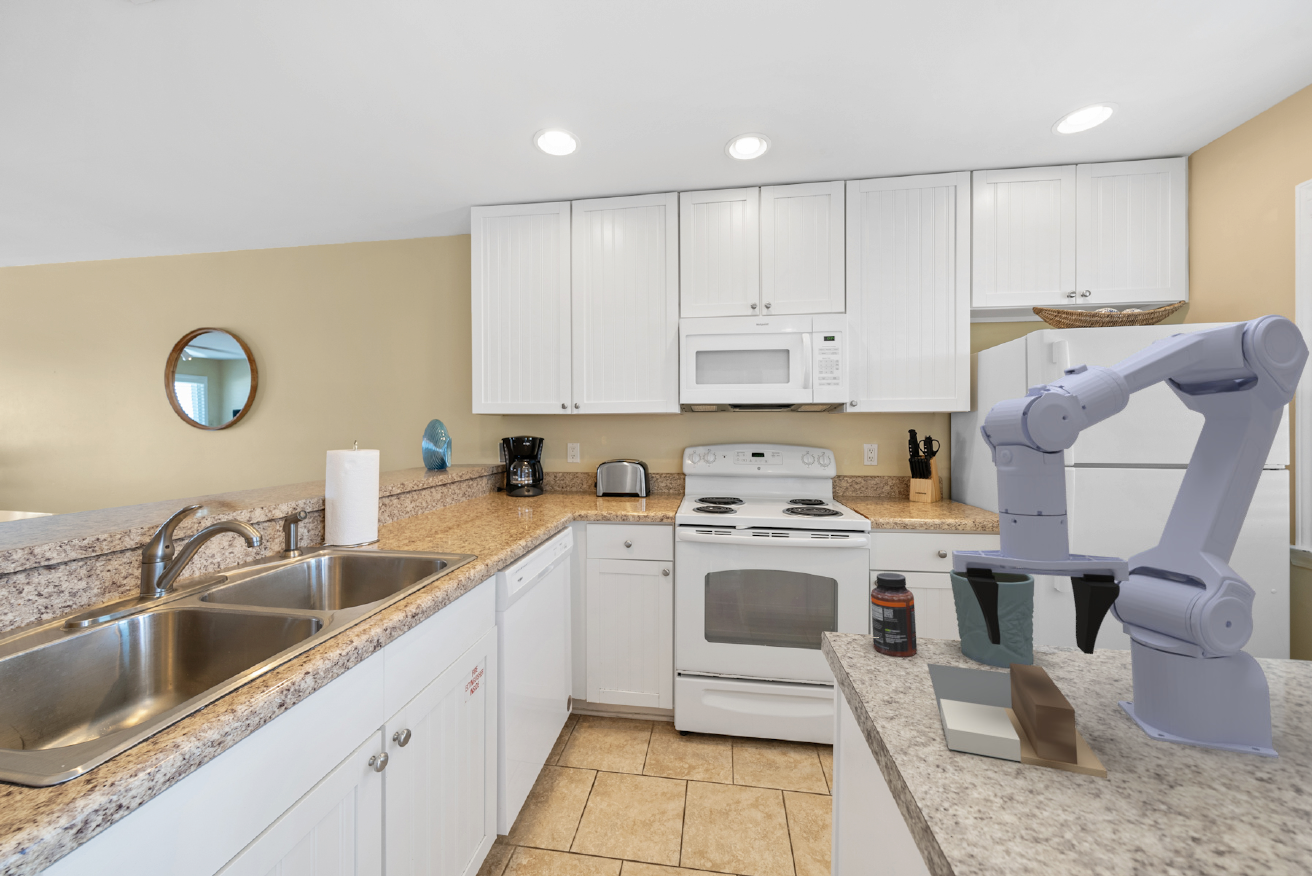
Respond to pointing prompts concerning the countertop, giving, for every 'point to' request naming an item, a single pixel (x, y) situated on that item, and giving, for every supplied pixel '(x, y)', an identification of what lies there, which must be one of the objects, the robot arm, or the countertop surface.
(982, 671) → the mat
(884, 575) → the supplement bottle
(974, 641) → the teal textured planter
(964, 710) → the tile
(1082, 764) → the trivet
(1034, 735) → the brown rectangular block
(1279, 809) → the countertop surface
